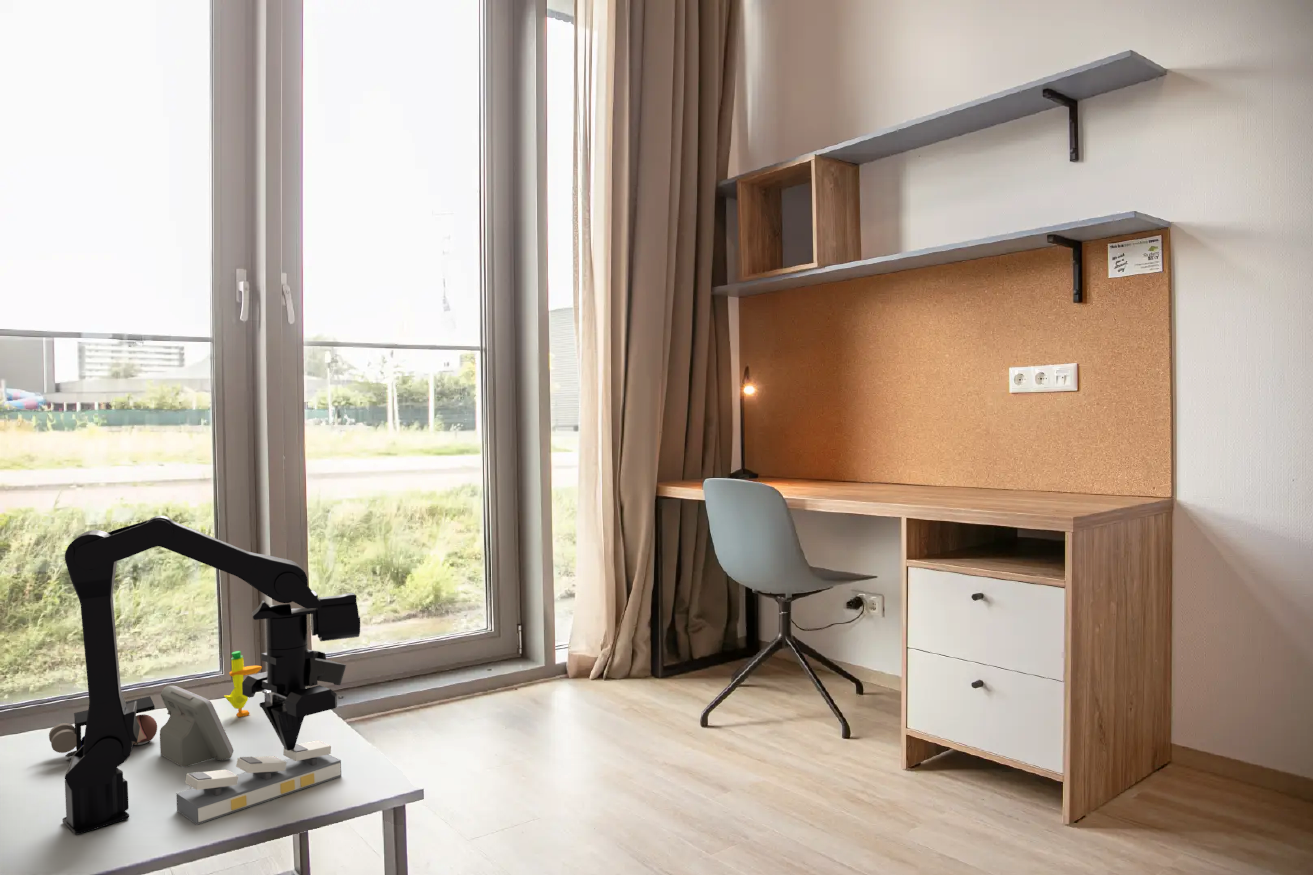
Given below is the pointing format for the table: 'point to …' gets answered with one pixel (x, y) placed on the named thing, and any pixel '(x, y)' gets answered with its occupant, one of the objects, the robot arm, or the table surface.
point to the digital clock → (192, 729)
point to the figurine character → (70, 737)
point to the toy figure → (239, 682)
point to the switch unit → (256, 788)
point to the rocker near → (211, 779)
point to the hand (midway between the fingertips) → (289, 749)
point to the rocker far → (308, 750)
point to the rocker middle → (261, 764)
